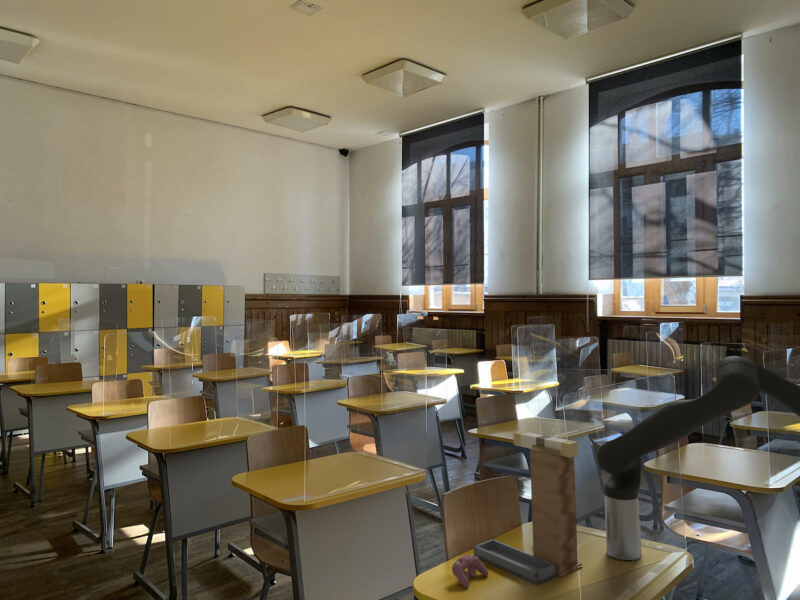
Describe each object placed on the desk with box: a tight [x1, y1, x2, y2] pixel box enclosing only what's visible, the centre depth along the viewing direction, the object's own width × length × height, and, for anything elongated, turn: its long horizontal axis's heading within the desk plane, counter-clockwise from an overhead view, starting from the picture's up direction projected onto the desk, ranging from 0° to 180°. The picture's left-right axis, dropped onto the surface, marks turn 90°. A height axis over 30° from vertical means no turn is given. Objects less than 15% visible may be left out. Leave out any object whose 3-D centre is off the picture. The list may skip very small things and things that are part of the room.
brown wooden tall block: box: [529, 445, 583, 578], centre depth 166 cm, size 9×11×34 cm
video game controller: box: [451, 554, 489, 589], centre depth 160 cm, size 10×5×7 cm, turn 135°
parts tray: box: [473, 538, 558, 586], centre depth 167 cm, size 8×24×3 cm, turn 37°
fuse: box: [512, 430, 579, 457], centre depth 168 cm, size 4×20×4 cm, turn 37°
